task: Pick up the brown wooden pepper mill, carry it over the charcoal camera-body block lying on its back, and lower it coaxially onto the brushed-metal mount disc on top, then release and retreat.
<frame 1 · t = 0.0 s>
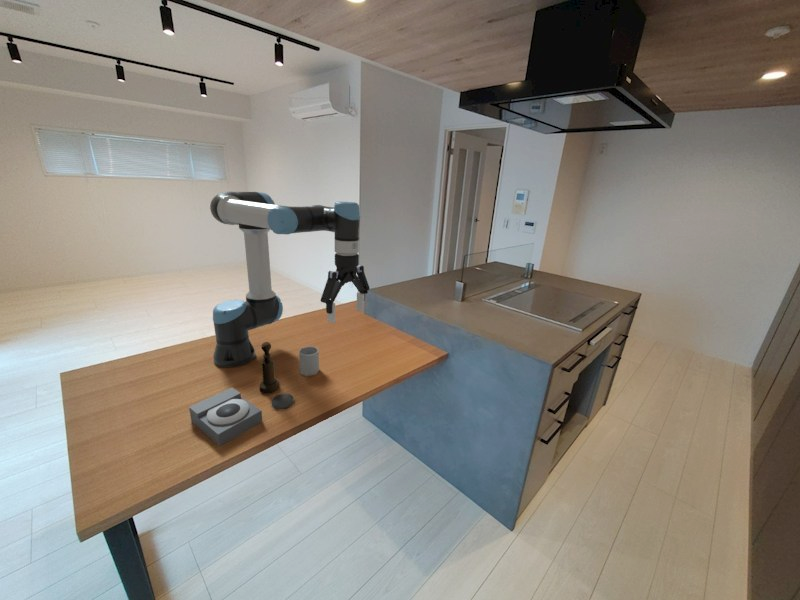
hand: (346, 316, 111), 28 cm above the table, fingers open, 13 cm apart
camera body: (227, 421, 100), on the table
brown wooden pepper mill: (269, 389, 117), on the table
cup: (308, 370, 131), on the table
dark grey dome: (282, 402, 110), on the table
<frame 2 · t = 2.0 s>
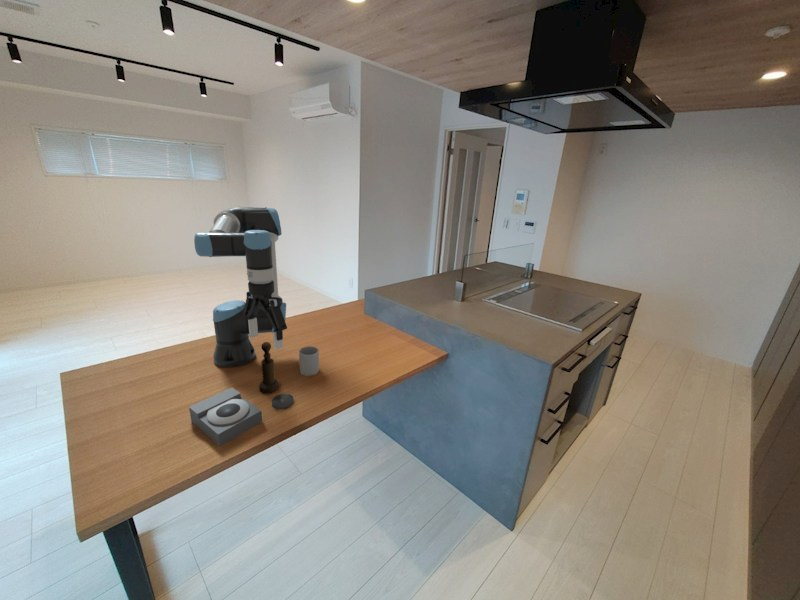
hand: (265, 342, 111), 18 cm above the table, fingers open, 13 cm apart
nothing on the table moved.
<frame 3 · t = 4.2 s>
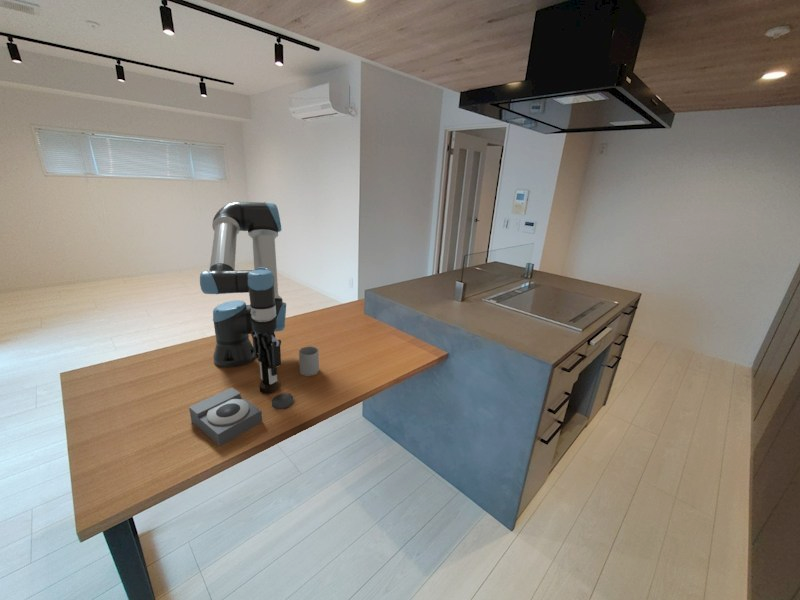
hand: (269, 379, 116), 4 cm above the table, fingers closed on brown wooden pepper mill, 4 cm apart
brown wooden pepper mill: (269, 389, 117), on the table, touching gripper
everything else where it was.
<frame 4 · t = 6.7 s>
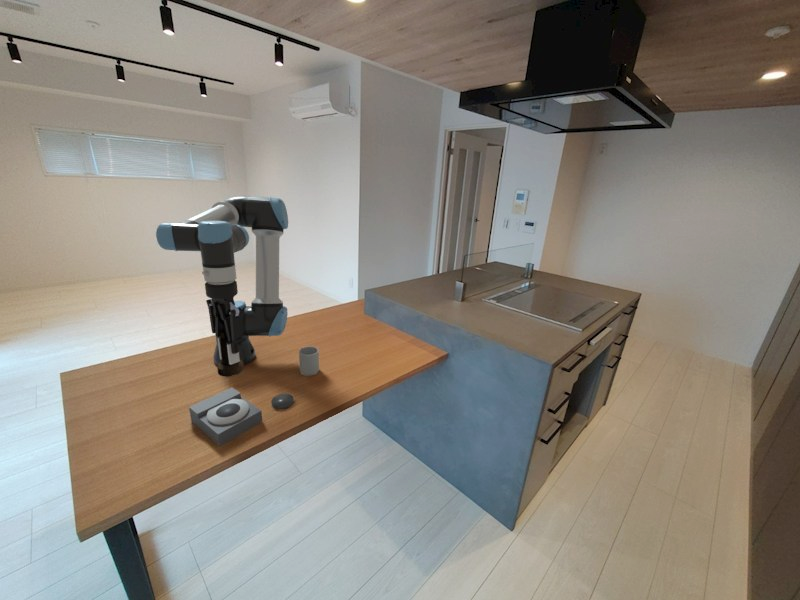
hand: (229, 359, 95), 20 cm above the table, fingers closed on brown wooden pepper mill, 4 cm apart
brown wooden pepper mill: (231, 371, 97), point 16 cm above the table, touching gripper
everything else where it was.
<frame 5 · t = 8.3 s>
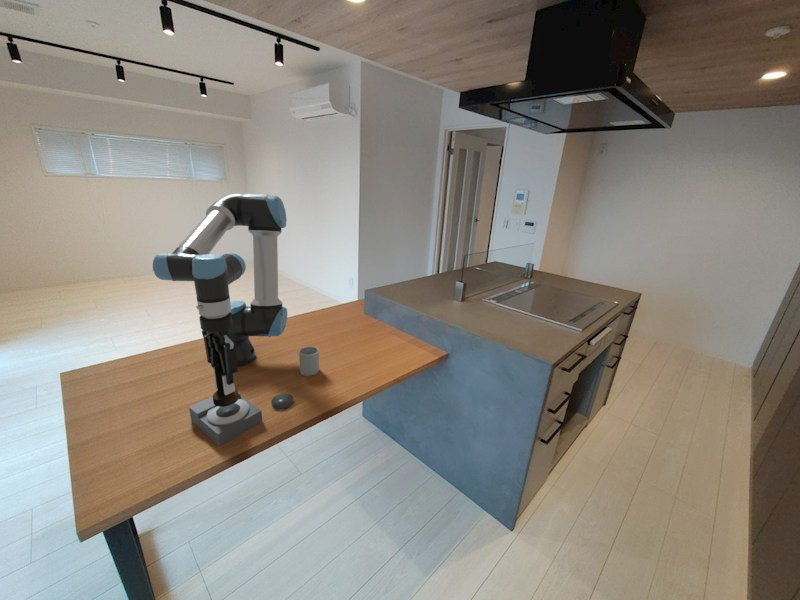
hand: (225, 389, 96), 12 cm above the table, fingers closed on brown wooden pepper mill, 4 cm apart
brown wooden pepper mill: (226, 400, 97), point 8 cm above the table, touching gripper
everything else where it was.
when the fingers open (10 cm above the table, at t = 9.4 s): brown wooden pepper mill drops 1 cm, resting on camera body.
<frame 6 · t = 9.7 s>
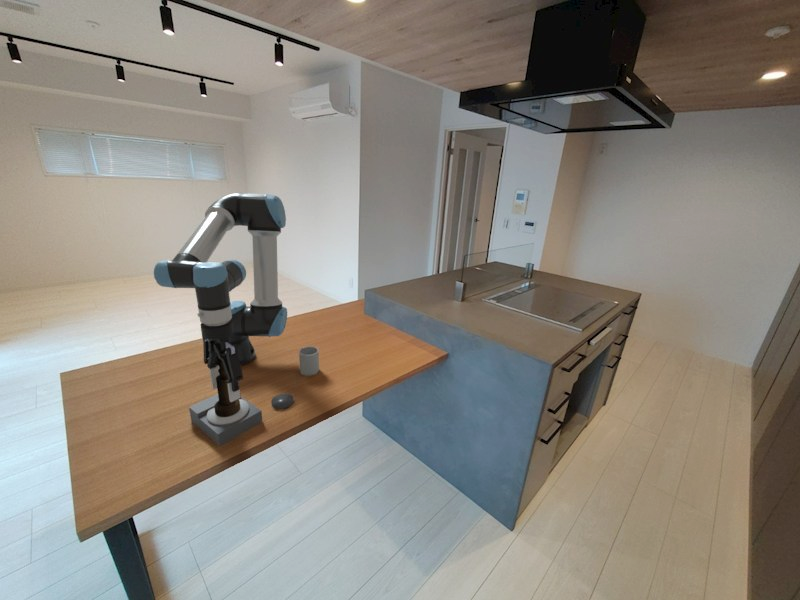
hand: (225, 393, 96), 11 cm above the table, fingers open, 9 cm apart
brown wooden pepper mill: (228, 410, 98), point 5 cm above the table, touching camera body
everything else where it was.
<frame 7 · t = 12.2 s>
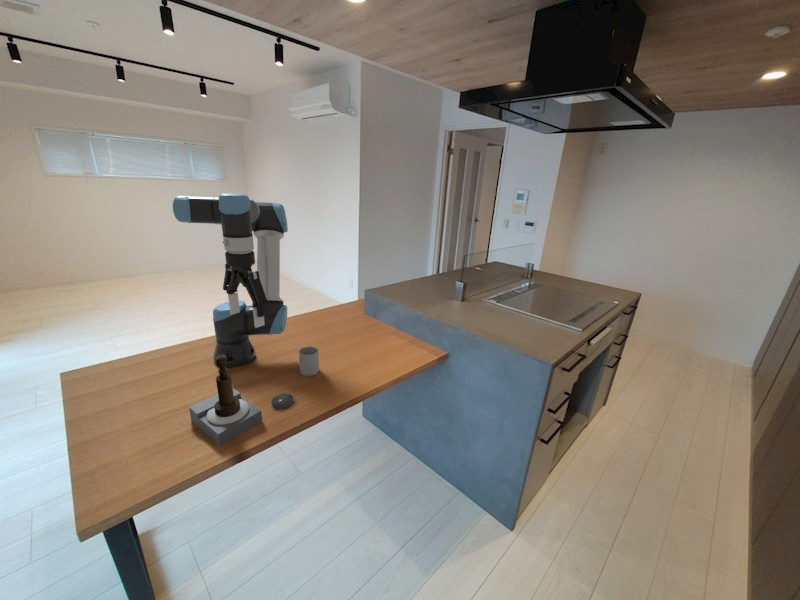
hand: (247, 319, 102), 29 cm above the table, fingers open, 13 cm apart
nothing on the table moved.
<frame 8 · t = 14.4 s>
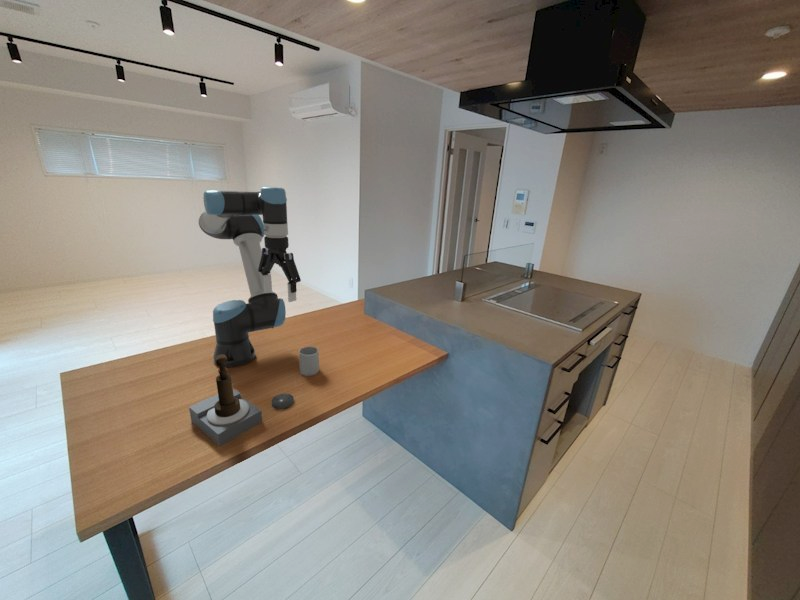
hand: (280, 296, 118), 31 cm above the table, fingers open, 13 cm apart
nothing on the table moved.
at the end: brown wooden pepper mill 1.3 cm from the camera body (horizontally); brown wooden pepper mill point 4.6 cm above the table; brown wooden pepper mill tilted 0° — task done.
